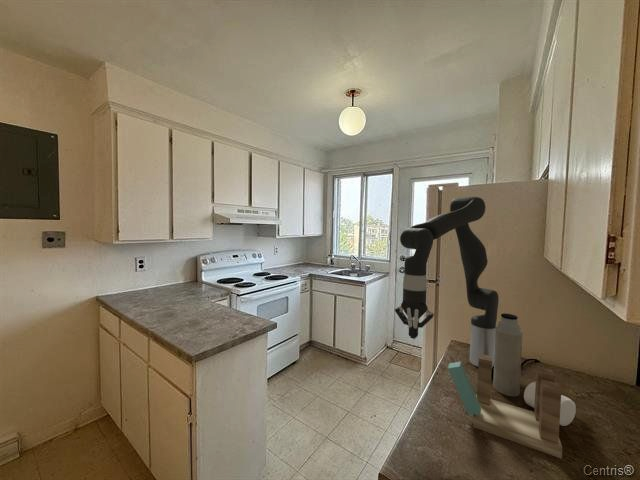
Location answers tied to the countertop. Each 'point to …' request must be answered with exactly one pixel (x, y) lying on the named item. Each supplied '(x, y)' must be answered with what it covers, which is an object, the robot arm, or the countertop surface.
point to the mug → (565, 409)
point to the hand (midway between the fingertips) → (413, 337)
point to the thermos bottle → (507, 356)
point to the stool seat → (521, 412)
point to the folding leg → (464, 388)
